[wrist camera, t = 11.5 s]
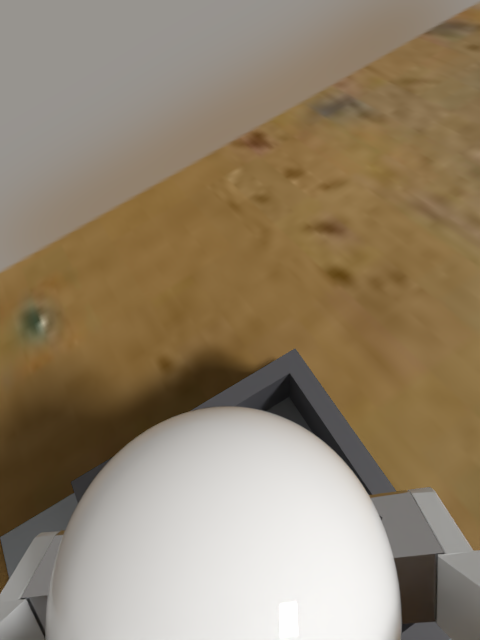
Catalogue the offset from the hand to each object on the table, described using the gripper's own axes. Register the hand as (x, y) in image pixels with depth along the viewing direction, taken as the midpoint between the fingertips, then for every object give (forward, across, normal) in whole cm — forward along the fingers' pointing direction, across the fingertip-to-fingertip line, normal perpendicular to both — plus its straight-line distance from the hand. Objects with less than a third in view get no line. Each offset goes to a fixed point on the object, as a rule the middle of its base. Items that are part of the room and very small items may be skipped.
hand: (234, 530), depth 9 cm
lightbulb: (+4, 0, +5) cm, 7 cm away
